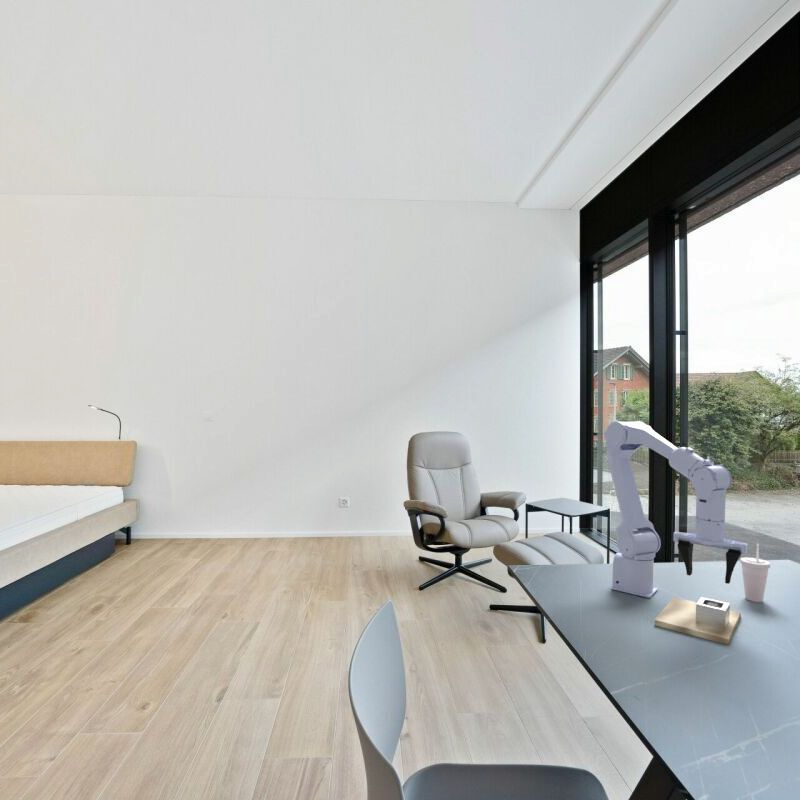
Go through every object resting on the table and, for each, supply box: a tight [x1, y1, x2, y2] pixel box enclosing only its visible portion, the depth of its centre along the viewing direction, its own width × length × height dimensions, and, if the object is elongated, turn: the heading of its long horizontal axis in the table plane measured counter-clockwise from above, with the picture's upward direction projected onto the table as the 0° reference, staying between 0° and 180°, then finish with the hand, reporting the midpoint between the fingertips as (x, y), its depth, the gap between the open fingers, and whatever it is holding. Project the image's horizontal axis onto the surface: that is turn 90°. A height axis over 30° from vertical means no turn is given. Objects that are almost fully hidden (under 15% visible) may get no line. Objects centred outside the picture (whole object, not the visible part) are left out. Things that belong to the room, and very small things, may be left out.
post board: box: [654, 596, 742, 646], centre depth 120 cm, size 14×18×5 cm
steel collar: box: [696, 596, 731, 630], centre depth 117 cm, size 6×6×4 cm
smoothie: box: [739, 543, 771, 603], centre depth 135 cm, size 6×6×14 cm
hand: (708, 578), depth 122 cm, fingers open, 7 cm apart
